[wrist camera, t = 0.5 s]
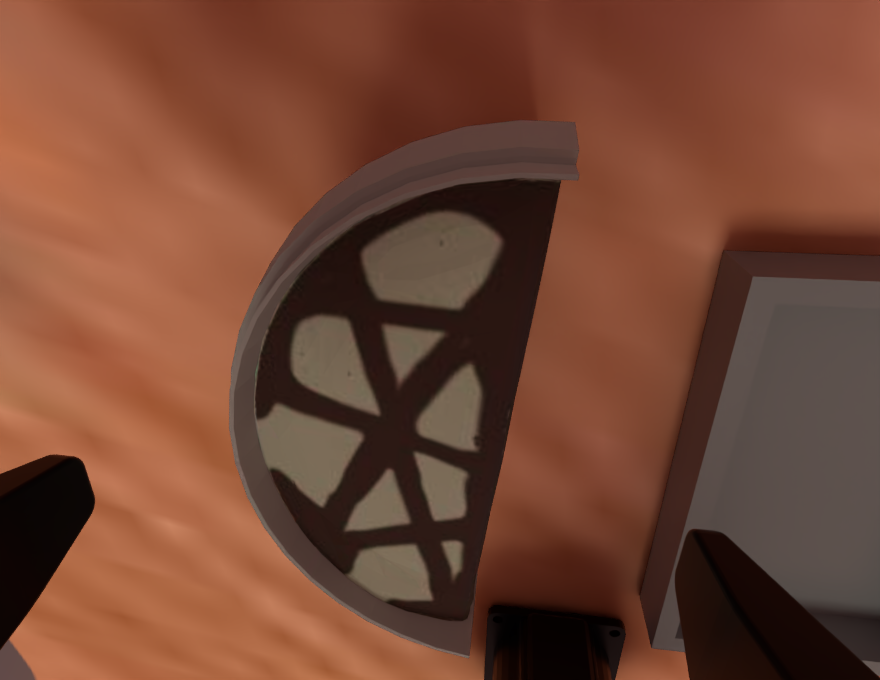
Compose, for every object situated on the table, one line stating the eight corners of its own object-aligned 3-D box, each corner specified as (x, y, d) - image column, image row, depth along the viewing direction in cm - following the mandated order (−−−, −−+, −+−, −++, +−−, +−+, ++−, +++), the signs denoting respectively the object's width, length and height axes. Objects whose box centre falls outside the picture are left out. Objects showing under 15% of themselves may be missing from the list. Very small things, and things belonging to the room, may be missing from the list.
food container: (352, 73, 17) (161, 77, 8) (551, 100, 16) (589, 134, 7) (341, 403, 22) (223, 622, 13) (487, 428, 22) (466, 672, 13)
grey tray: (888, 623, 24) (927, 681, 21) (639, 596, 25) (651, 648, 23) (1093, 263, 16) (1184, 293, 14) (723, 250, 17) (753, 276, 15)
